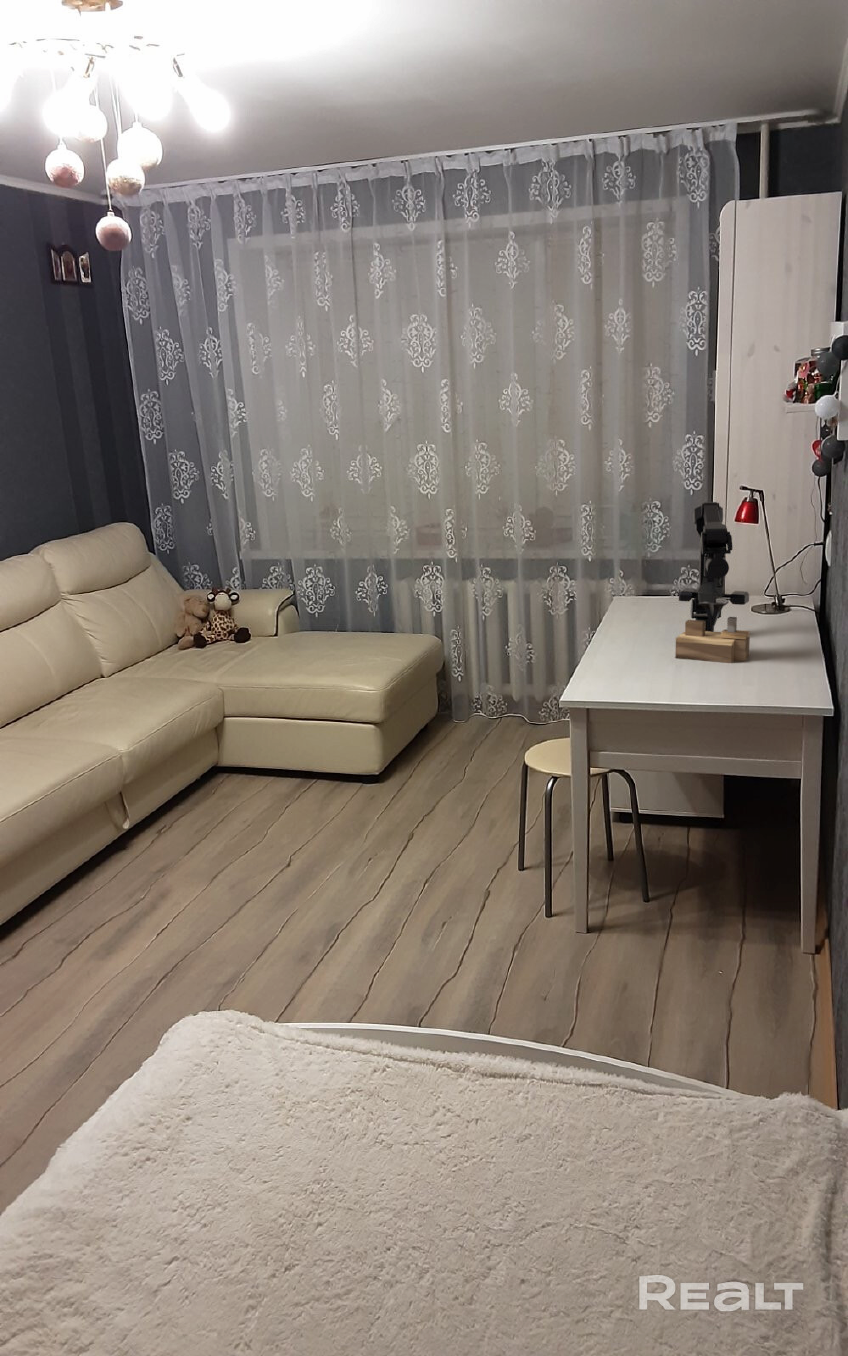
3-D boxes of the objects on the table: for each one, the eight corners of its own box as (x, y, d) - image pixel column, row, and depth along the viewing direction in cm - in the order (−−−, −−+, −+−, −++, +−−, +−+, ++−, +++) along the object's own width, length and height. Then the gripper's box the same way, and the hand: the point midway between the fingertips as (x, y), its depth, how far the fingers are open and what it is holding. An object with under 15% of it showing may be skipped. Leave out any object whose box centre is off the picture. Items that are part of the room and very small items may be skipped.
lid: (687, 633, 313) (687, 616, 312) (741, 637, 305) (742, 620, 304) (675, 641, 304) (676, 624, 303) (731, 645, 296) (732, 628, 295)
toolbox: (686, 649, 315) (687, 629, 313) (751, 654, 305) (752, 634, 304) (675, 658, 306) (675, 637, 304) (741, 663, 296) (742, 643, 295)
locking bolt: (724, 634, 304) (725, 615, 303) (749, 636, 301) (750, 617, 299) (720, 637, 301) (721, 618, 299) (745, 639, 297) (746, 620, 296)
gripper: (673, 575, 297) (672, 629, 301) (740, 578, 288) (738, 634, 292) (685, 568, 306) (684, 621, 310) (750, 571, 297) (748, 626, 301)
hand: (712, 625), depth 303 cm, fingers closed
